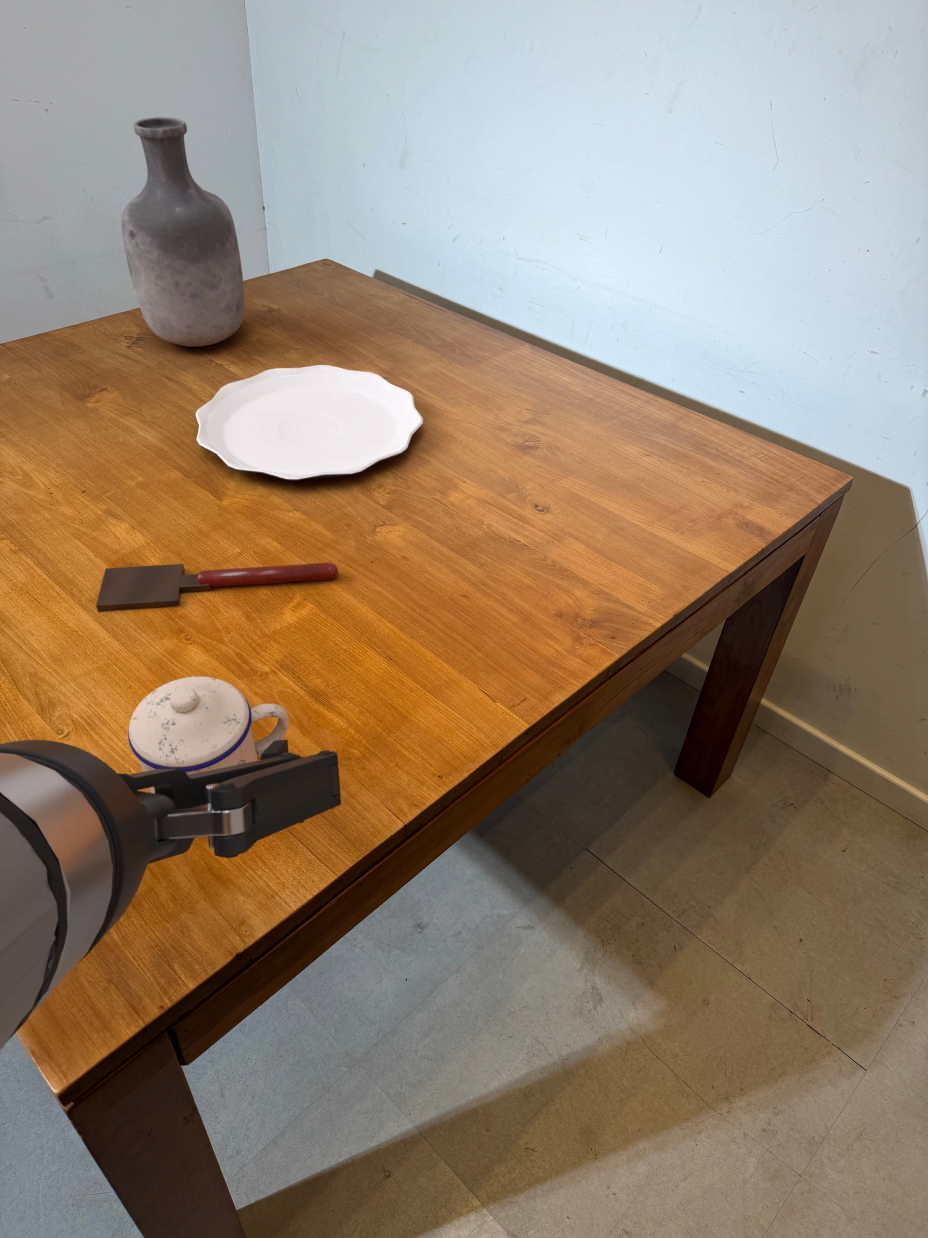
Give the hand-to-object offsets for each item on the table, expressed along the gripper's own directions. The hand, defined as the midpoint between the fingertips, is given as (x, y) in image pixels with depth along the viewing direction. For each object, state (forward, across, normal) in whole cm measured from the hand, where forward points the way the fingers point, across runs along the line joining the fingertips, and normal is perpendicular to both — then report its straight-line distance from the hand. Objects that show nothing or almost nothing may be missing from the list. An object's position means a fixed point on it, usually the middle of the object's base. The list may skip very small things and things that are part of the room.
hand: (157, 775), depth 46 cm
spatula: (+43, -2, +14) cm, 45 cm away
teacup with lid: (+25, 0, -4) cm, 25 cm away
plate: (+65, +8, +36) cm, 75 cm away
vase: (+86, -10, +58) cm, 104 cm away
